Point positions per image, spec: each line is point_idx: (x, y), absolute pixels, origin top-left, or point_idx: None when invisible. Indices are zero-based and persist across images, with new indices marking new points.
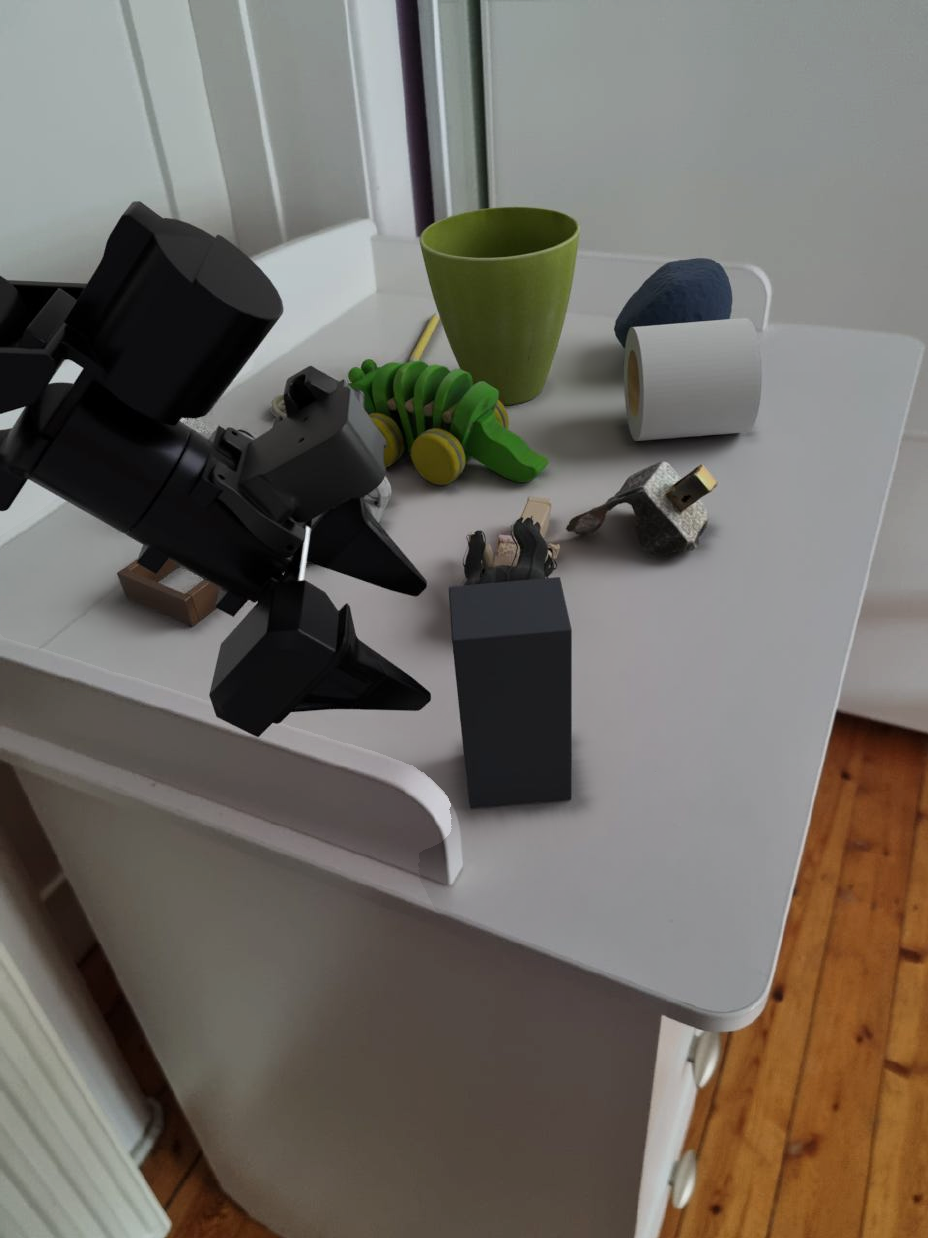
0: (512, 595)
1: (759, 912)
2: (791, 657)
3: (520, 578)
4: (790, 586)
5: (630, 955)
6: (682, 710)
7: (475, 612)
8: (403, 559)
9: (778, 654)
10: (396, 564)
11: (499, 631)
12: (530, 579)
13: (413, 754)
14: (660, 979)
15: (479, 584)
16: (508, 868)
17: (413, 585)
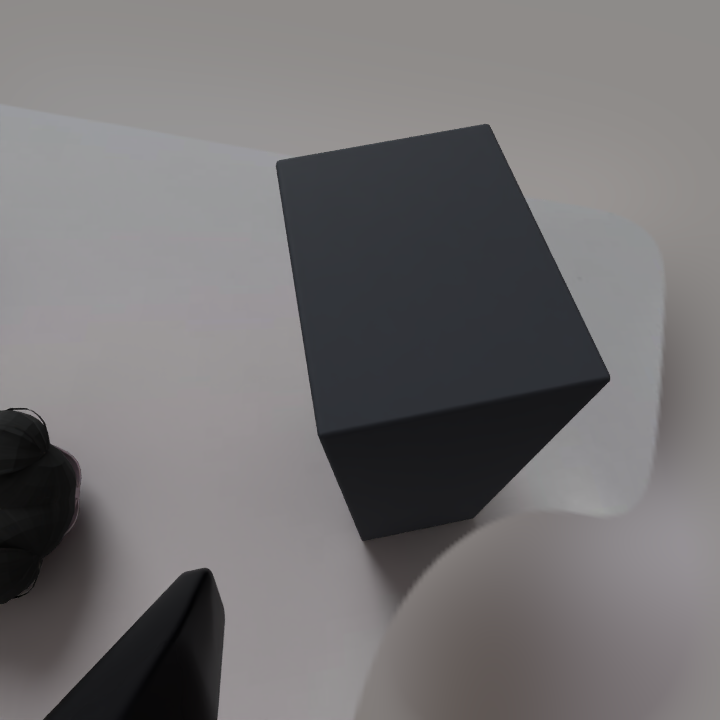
0: (361, 249)
1: (545, 211)
2: (191, 172)
3: (1, 447)
4: (67, 167)
5: (635, 312)
6: (272, 268)
7: (456, 332)
8: (138, 666)
9: (185, 182)
10: (158, 703)
11: (532, 260)
12: (13, 425)
13: (371, 638)
14: (652, 286)
15: (309, 339)
16: (561, 450)
17: (208, 620)
